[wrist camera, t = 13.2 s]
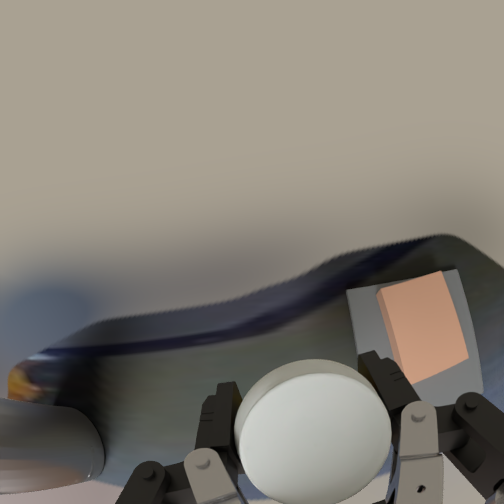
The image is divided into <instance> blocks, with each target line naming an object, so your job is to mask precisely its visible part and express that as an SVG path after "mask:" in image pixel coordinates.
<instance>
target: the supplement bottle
mask: <svg viewBox="0 0 504 504" xmlns="http://www.w3.org/2000/svg"><path fill="white" fill-rule="evenodd" d="M391 435H392V431H391V422H390V418H389V415H388V412H387V410H386V408H385V406H384V404H383V402H382V401H381V399H380V398H379V396H378V394H377V392H376V391H375V389H374V388H373V386H372V385H371V384H370V382H369V381H368V380H367V379H366V378H365V377H363V376H362V375H361V374H360V373H358V372H357V371H355V370H354V369H352V368H350V367H348V366H346V365H343V364H341V363H338V362H334V361H329V360H320V359H308V360H301V361H296V362H292V363H289V364H286V365H283V366H281V367H279V368H277V369H275V370H273V371H271V372H270V373H268V374H267V375H265V376H264V377H263V378H261V379H260V380H259V381H258V382H257V383H256V384H255V385H254V386H253V387H252V388H251V389H250V390H249V392H248V393H247V394H246V396H245V397H244V399H243V401H242V403H241V405H240V407H239V410H238V412H237V415H236V420H235V425H234V440H235V446H236V449H237V453H238V455H239V457H240V460H241V462H242V465H243V468H244V470H245V472H246V474H247V476H248V478H249V479H250V480H251V482H252V483H253V484H254V485H255V486H256V487H257V488H258V489H259V490H260V491H261V492H262V493H264V494H265V495H266V496H268V497H270V498H271V499H273V500H275V501H278V502H280V503H283V504H335V503H339V502H341V501H343V500H346V499H348V498H350V497H352V496H353V495H355V494H357V493H358V492H359V491H361V490H362V489H363V488H364V487H366V486H367V485H368V484H369V483H370V482H371V481H372V480H373V479H374V478H375V477H376V475H377V474H378V473H379V471H380V469H381V468H382V466H383V464H384V462H385V460H386V458H387V455H388V453H389V449H390V444H391Z"/></svg>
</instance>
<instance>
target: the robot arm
mask: <svg viewBox="0 0 504 504" xmlns="http://www.w3.org/2000/svg"><path fill="white" fill-rule="evenodd" d="M358 373H360V374H361V375H362V376H363V377H365V378H366V379H367V380H368V381H369V382H370V384H371V385H372V386H373V388H374V389H375V391H376V392H377V394H378V396H379V398H380V399H381V401H382V402H383V404H384V406H385V408H386V410H387V412H388V415H389V418H390V422H391V431H392V435H391V442H392V444H393V452H392V462H391V471H390V479H389V486H388V491H387V495H386V498H385V499H384V500H382V501H379V502H376V503H373V504H442V503H443V477H444V476H443V475H444V468H443V467H444V466H443V456H442V454H439V453H440V452H443V454H444V455H445V456H446V457H447V458H448V459H449V460H450V461H451V462H452V463H453V464H454V466H455V467H456V468H457V469H458V470H459V471H460V472H461V473H462V474H463V475H464V476H465V478H466V479H467V480H468V481H469V482H470V483H471V484H472V485H473V486H474V487H475V488H476V490H477V491H478V492H479V493H480V494H481V495H482V496H483V497H484V498H485V499H486V502H485V504H504V413H503V412H502V411H501V410H499V409H498V408H497V407H496V406H494V405H493V404H492V403H491V402H489V401H488V400H487V399H486V398H484V397H483V396H482V395H481V394H479V393H476V392H467V393H464V394H462V395H460V396H459V397H458V399H457V400H456V402H455V404H450V405H445V406H433V405H432V404H430V403H428V402H426V401H422V400H421V399H420V397H419V396H418V394H417V393H416V391H415V390H414V388H413V387H412V385H411V384H410V382H409V381H408V379H407V378H406V377H405V375H404V373H403V372H402V371H401V369H400V367H399V366H398V364H397V363H396V362H395V361H393V360H391V359H390V358H388V357H386V358H383V359H380V357H379V356H378V354H377V352H376V351H375V350H372V351H369V352H365V353H362V354H359V355H358ZM241 403H242V398H241V395H240V393H239V390H238V387H237V384H236V382H235V381H233V382H226V383H219V384H218V385H217V392H216V395H211V396H208V397H207V399H206V400H205V401H204V403H203V404H202V410H201V415H200V422H199V427H198V432H197V438H196V444H195V449H194V451H192V452H191V453H189V454H188V455H187V457H186V458H185V460H184V461H183V462H180V463H177V464H173V465H169V466H165V467H163V466H162V465H161V464H160V463H158V462H155V461H146V462H143V463H141V464H139V465H138V466H137V467H136V468H135V469H134V471H133V473H132V475H131V476H130V478H129V480H128V482H127V484H126V485H125V487H124V489H123V491H122V492H121V494H120V496H119V498H118V500H117V501H116V503H115V504H249V503H248V502H247V500H246V498H245V496H244V494H243V493H242V491H241V489H240V487H239V485H238V474H245V470H244V468H243V465H242V462H241V460H240V457H239V455H238V453H237V449H236V446H235V440H234V425H235V420H236V415H237V412H238V410H239V407H240V405H241ZM103 466H104V449H103V445H102V442H101V438H100V436H99V434H98V432H97V430H96V428H95V427H94V425H93V424H92V422H91V421H90V420H89V419H88V418H87V417H86V416H85V415H84V414H83V413H82V412H80V411H78V410H76V409H74V408H71V407H62V406H52V405H44V404H37V403H30V402H23V401H17V400H12V399H6V398H1V397H0V495H2V494H16V493H26V492H34V491H41V490H48V489H53V488H59V487H64V486H69V485H74V484H78V483H82V482H87V481H91V480H93V479H95V478H97V477H98V476H99V475H100V473H101V472H102V470H103Z"/></svg>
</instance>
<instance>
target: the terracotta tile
mask: <svg viewBox="0 0 504 504" xmlns="http://www.w3.org/2000/svg"><path fill="white" fill-rule="evenodd" d="M376 297H377V300H378V303H379V306H380V310H381V313H382V316H383V320H384V323H385V327H386V330H387V334H388V337H389V341H390V345H391V349H392V353H393V357H394V361H395V362H396V363H397V364H398V366H399V367H400V369H401V371H402V372H403V373H404V375H405V377H406V378H407V379H408V381H409V382H410V384H411V385H412V384H414V383H416V382H419V381H421V380H424V379H426V378H428V377H431V376H433V375H435V374H437V373H439V372H442V371H444V370H446V369H448V368H450V367H452V366H454V365H456V364H458V363H460V362H462V361H464V360H466V359H468V358H469V356H468V352H467V348H466V344H465V341H464V337H463V333H462V330H461V326H460V323H459V320H458V317H457V314H456V310H455V307H454V304H453V301H452V299H451V296H450V293H449V290H448V287H447V285H446V282H445V279H444V277H443V274H442V272H441V271H438V272H435V273H432V274H429V275H425V276H422V277H419V278H416V279H412V280H409V281H406V282H402V283H399V284H396V285H392V286H389V287H385V288H381V289H380V290H379V291H378V293H377V294H376Z"/></svg>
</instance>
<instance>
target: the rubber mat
mask: <svg viewBox="0 0 504 504" xmlns="http://www.w3.org/2000/svg"><path fill="white" fill-rule="evenodd" d="M442 274H443V277H444V279H445V282H446V285H447V287H448V290H449V293H450V296H451V299H452V301H453V304H454V307H455V310H456V314H457V317H458V320H459V323H460V326H461V330H462V333H463V337H464V341H465V344H466V348H467V352H468V356H469V358H468V359H466V360H464V361H462V362H460V363H458V364H456V365H454V366H452V367H450V368H448V369H446V370H444V371H442V372H439V373H437V374H435V375H433V376H431V377H428V378H426V379H424V380H421V381H419V382H416V383H414V384H412V387H413V388H414V390H415V391H416V393H417V394H418V396H419V397H420V399H421V400H422V401H426V402H428V403H430V404H432V405H433V406H445V405H450V404H455V402H456V400H457V399H458V397H459V396H460V395H462V394H464V393H467V392H476V393H479V394H482V393H484V392H483V382H482V374H481V367H480V360H479V354H478V349H477V343H476V338H475V333H474V329H473V324H472V320H471V316H470V312H469V308H468V304H467V300H466V297H465V293H464V290H463V287H462V283H461V280H460V277H459V274H458V271H457V269H454V270H450V271H445V272H442ZM421 277H422V276H421ZM416 278H419V277H416ZM416 278H411V279H406V280H400V281H395V282H390V283H384V284H378V285H373V286H367V287H361V288H355V289H348V290H347V291H346V295H347V300H348V306H349V311H350V316H351V322H352V328H353V333H354V339H355V346H356V352H357V359H358V355H359V354H362V353H365V352H369V351H372V350H375V351H376V352H377V354H378V356H379V357H380V359H383V358H386V357H388V358H390V359H391V360H393V361H394V357H393V353H392V349H391V345H390V341H389V337H388V334H387V330H386V327H385V323H384V320H383V316H382V313H381V310H380V306H379V303H378V300H377V297H376V294H377V293H378V291H379V290H380V289H381V288H385V287H389V286H392V285H396V284H399V283H402V282H406V281H409V280H412V279H416Z"/></svg>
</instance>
